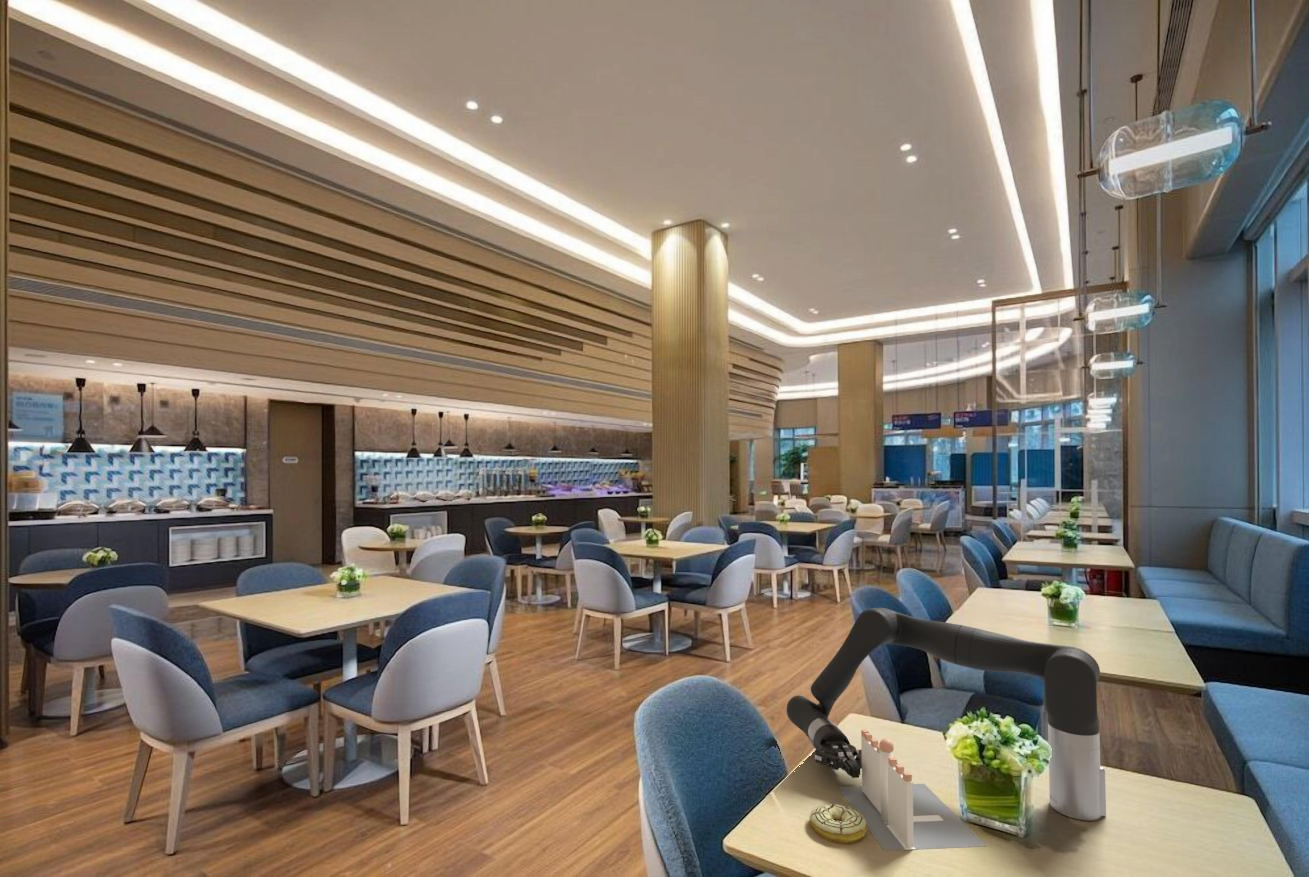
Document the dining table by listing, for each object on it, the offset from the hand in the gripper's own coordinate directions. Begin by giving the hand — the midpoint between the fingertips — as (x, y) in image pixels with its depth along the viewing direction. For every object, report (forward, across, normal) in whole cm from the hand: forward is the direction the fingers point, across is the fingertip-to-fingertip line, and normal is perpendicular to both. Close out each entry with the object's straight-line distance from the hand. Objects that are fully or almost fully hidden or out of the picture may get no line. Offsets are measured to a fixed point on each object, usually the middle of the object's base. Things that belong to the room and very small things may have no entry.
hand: (856, 773), depth 140 cm
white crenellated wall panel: (+1, +3, +5) cm, 6 cm away
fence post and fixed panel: (+12, +3, +6) cm, 14 cm away
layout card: (+6, +8, +6) cm, 12 cm away
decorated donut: (+10, -8, +7) cm, 14 cm away
